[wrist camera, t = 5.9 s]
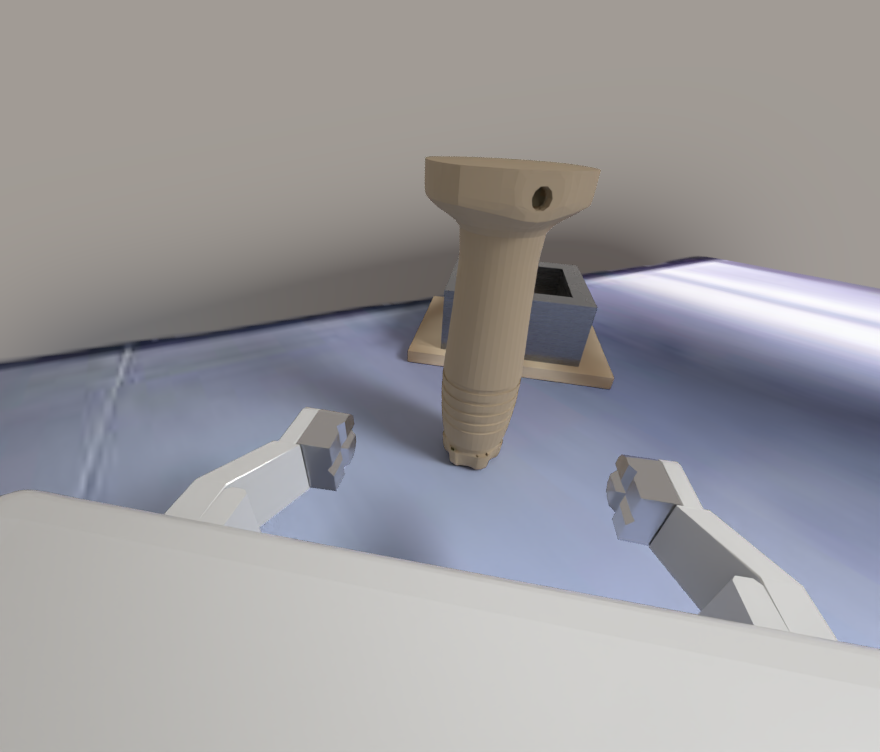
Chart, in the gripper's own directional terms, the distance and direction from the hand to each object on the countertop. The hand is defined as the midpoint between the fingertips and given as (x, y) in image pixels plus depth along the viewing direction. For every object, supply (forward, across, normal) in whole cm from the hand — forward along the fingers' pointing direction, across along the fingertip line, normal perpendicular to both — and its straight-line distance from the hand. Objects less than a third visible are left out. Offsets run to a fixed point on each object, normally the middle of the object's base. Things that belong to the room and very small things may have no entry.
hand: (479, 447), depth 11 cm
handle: (+8, 0, +8) cm, 11 cm away
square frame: (+22, -2, +7) cm, 24 cm away
